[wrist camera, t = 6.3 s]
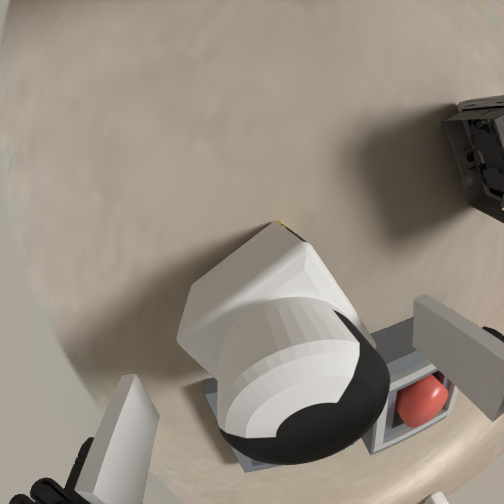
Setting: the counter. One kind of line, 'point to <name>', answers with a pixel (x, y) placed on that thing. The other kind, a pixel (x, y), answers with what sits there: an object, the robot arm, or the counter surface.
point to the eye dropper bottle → (436, 498)
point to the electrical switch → (480, 151)
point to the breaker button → (420, 401)
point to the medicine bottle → (283, 352)
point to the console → (401, 375)
